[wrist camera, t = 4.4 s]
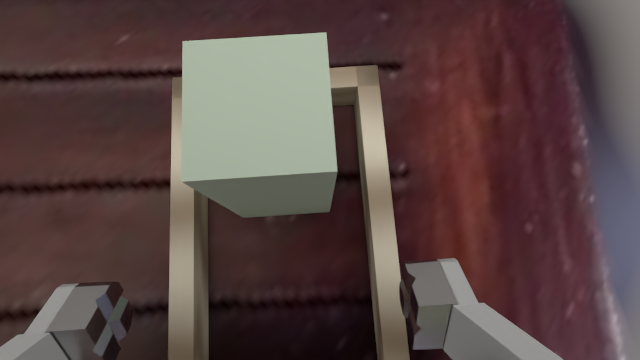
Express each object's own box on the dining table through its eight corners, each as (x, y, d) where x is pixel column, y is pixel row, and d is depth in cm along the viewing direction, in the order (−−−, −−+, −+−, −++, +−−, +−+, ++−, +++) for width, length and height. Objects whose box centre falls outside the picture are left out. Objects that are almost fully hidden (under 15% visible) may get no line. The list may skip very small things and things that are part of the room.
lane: (400, 366, 20) (411, 380, 18) (186, 382, 20) (167, 398, 17) (371, 85, 24) (377, 65, 21) (187, 97, 23) (172, 77, 21)
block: (329, 212, 22) (337, 171, 12) (243, 217, 22) (181, 181, 12) (323, 130, 23) (326, 32, 13) (241, 135, 23) (182, 41, 13)
